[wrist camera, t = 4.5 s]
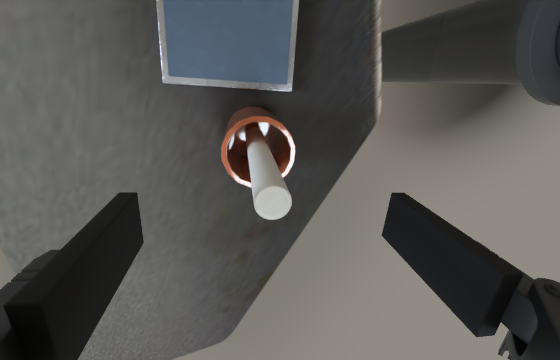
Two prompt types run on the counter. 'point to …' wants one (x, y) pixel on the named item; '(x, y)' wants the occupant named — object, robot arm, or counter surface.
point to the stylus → (266, 178)
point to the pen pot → (237, 149)
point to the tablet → (228, 43)
